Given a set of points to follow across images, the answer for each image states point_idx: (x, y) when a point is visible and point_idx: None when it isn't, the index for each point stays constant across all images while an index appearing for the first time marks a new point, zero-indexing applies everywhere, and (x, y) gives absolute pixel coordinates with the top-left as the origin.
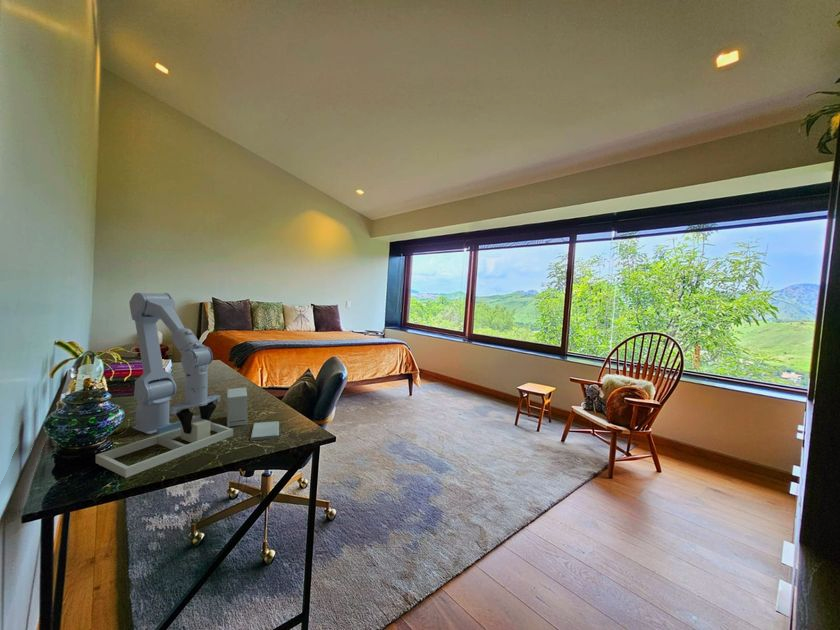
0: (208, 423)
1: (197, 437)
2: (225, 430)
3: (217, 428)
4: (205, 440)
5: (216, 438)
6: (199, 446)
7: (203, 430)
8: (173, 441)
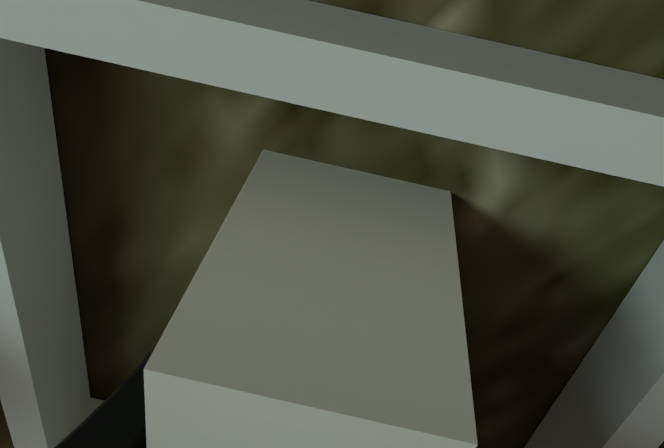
0: (209, 351)
1: (455, 255)
2: (14, 39)
3: (34, 253)
4: (495, 71)
5: (273, 9)
6: (591, 74)
7: (346, 289)
8: (653, 421)
